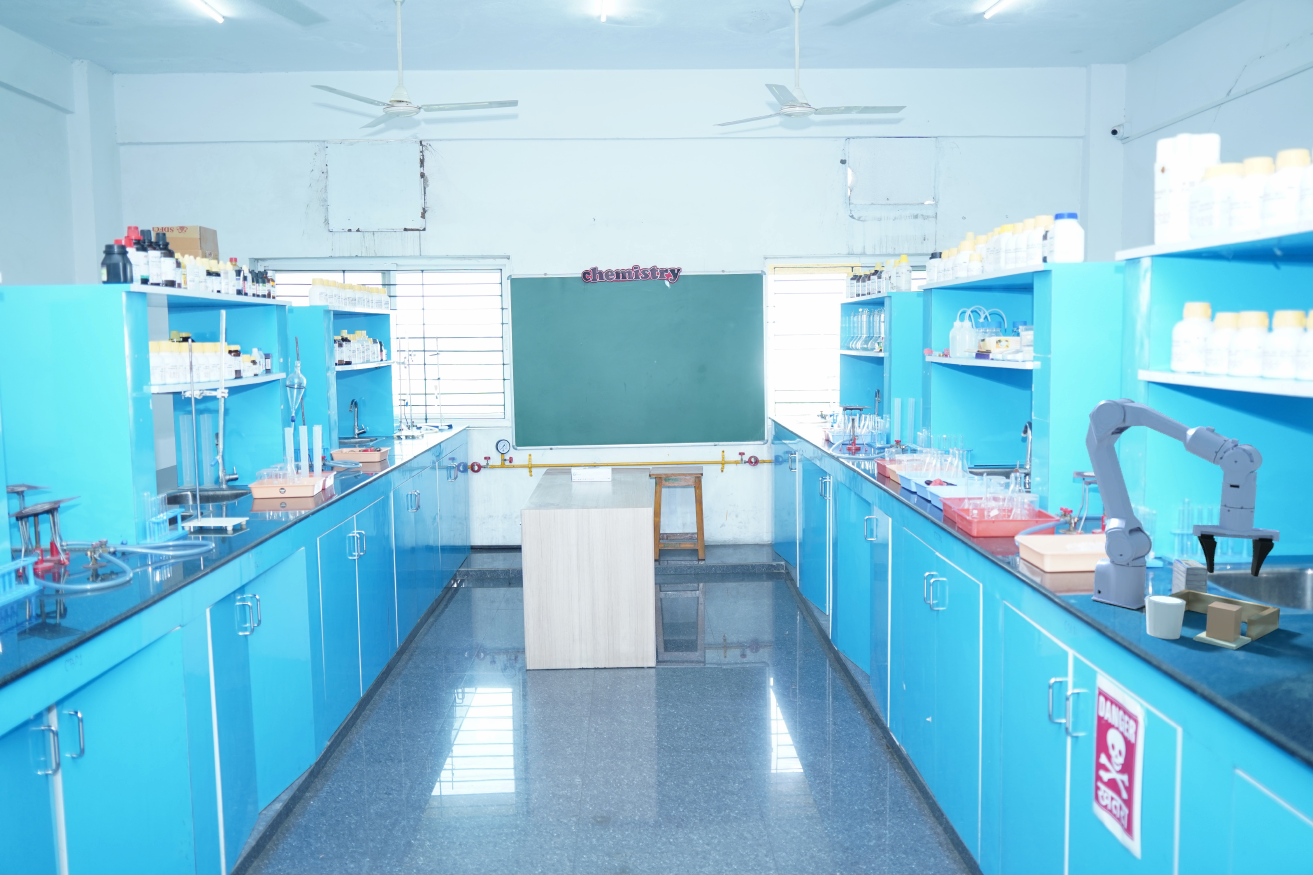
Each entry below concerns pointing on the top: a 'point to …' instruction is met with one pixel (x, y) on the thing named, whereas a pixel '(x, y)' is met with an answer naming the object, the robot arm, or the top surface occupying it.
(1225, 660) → the top surface
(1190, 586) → the medicine box
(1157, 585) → the top surface
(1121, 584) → the robot arm
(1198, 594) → the birch pen
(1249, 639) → the rubber mat
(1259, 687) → the top surface
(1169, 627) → the white cup
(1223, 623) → the terracotta block
